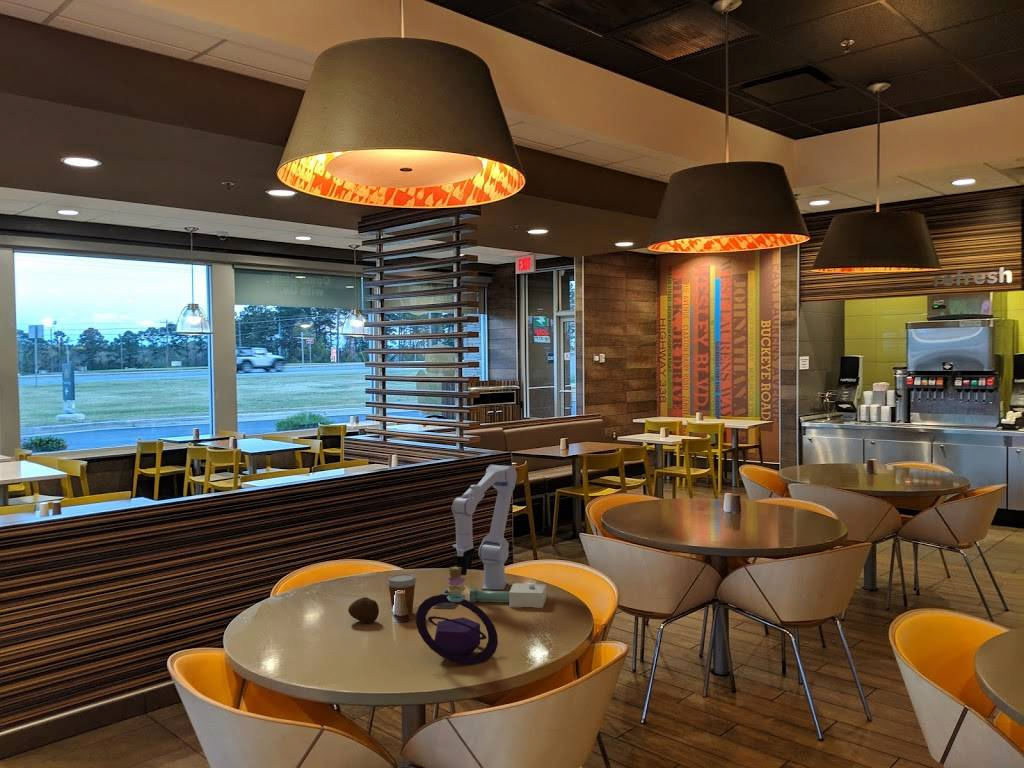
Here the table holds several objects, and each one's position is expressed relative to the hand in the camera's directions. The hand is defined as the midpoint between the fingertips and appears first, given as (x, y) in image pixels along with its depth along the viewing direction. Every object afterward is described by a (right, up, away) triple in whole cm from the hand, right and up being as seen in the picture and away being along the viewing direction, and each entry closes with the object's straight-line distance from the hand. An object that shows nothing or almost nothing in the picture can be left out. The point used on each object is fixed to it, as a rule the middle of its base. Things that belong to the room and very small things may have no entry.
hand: (465, 571), depth 272 cm
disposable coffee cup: (-20, -11, -11) cm, 26 cm away
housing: (+21, -10, -4) cm, 23 cm away
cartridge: (+9, -9, -2) cm, 13 cm away
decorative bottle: (+1, -12, -48) cm, 50 cm away
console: (-6, -10, 0) cm, 12 cm away
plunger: (-5, -9, +3) cm, 11 cm away
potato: (-31, -12, -19) cm, 38 cm away
